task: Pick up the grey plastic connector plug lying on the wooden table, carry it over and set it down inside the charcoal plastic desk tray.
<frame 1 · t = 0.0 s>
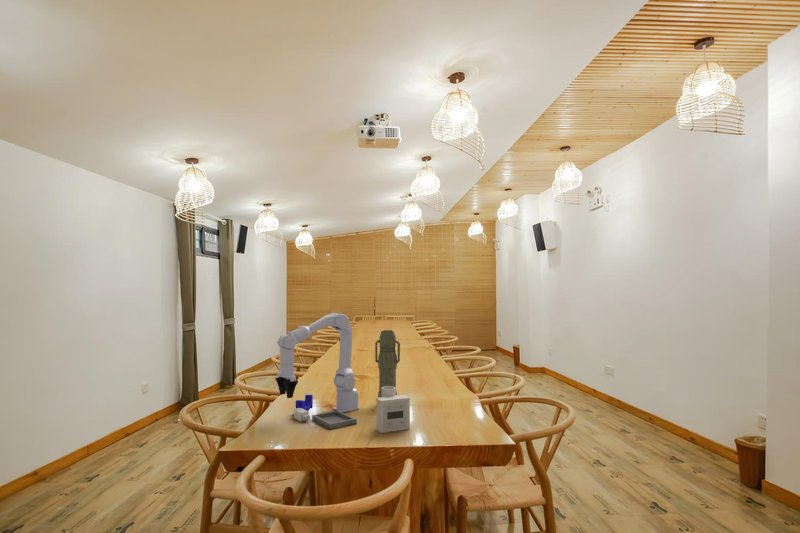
hand: (286, 396, 185), 10 cm above the table, tool pointing down, fingers open, 7 cm apart
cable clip: (302, 411, 200), on the table
connector: (301, 419, 187), on the table
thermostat: (389, 426, 178), on the table
tray: (334, 421, 183), on the table
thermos: (387, 405, 209), on the table
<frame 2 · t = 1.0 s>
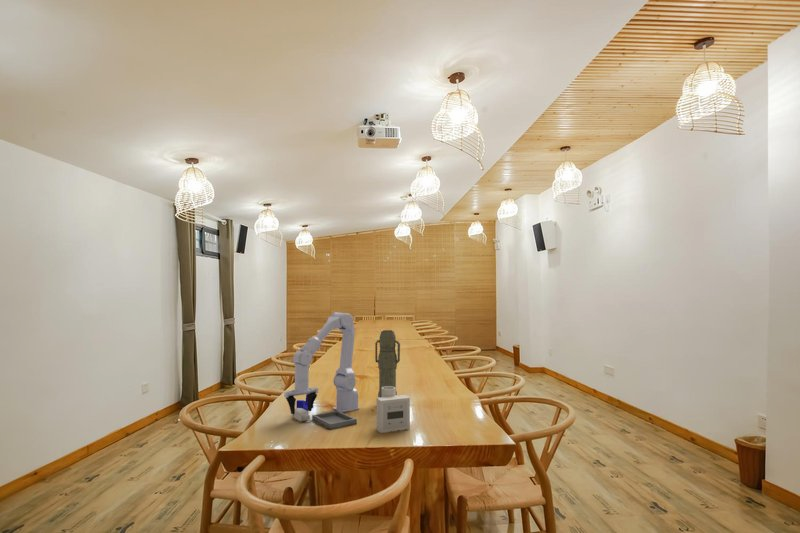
hand: (301, 412, 187), 3 cm above the table, tool pointing down, fingers open, 7 cm apart
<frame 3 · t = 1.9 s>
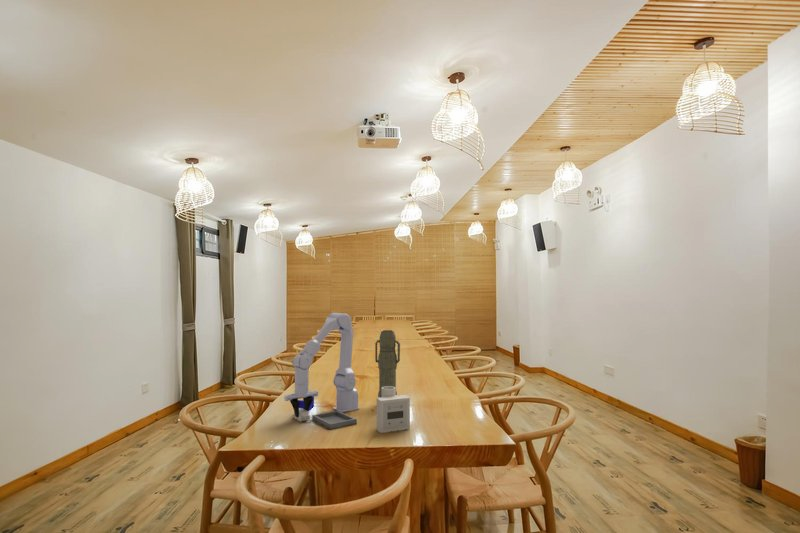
hand: (301, 415, 187), 1 cm above the table, tool pointing down, fingers closed on connector, 3 cm apart
connector: (301, 419, 187), on the table, touching gripper
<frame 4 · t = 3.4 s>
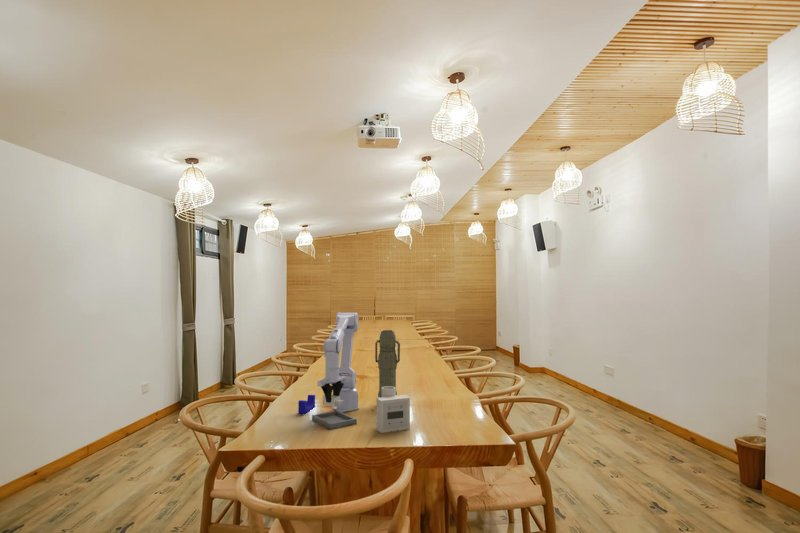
hand: (332, 401, 183), 8 cm above the table, tool pointing down, fingers closed on connector, 3 cm apart
connector: (332, 404, 183), point 7 cm above the table, touching gripper
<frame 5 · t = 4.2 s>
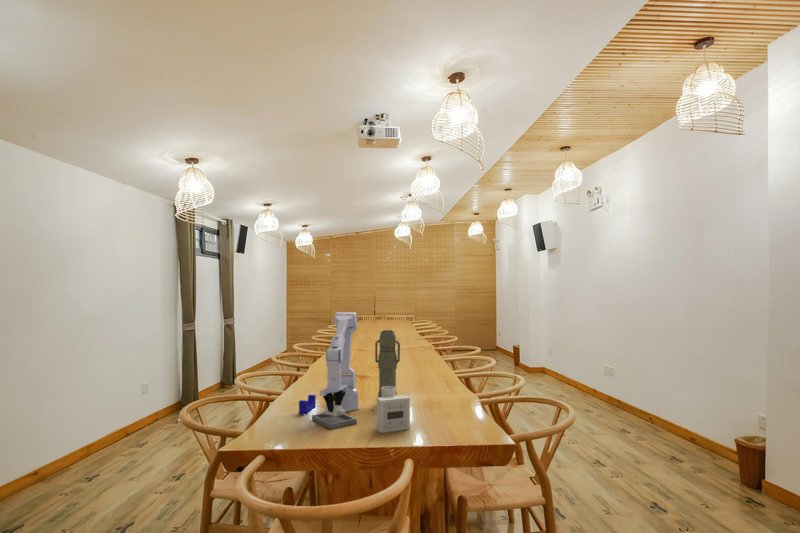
hand: (334, 410, 183), 5 cm above the table, tool pointing down, fingers closed on connector, 3 cm apart
connector: (334, 414, 183), point 3 cm above the table, touching gripper
when the fingers open (3 cm above the table, at t = 4.9 s): connector stays where it is, resting on tray.
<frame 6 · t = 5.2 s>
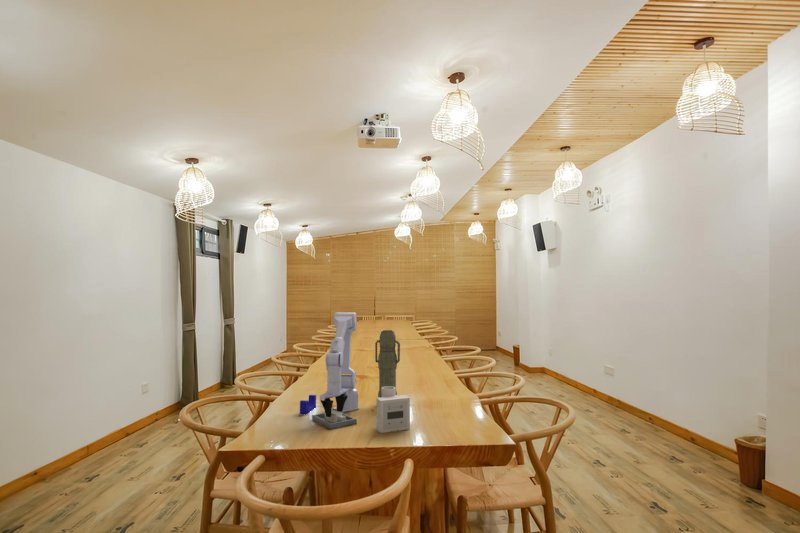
hand: (334, 414, 183), 3 cm above the table, tool pointing down, fingers open, 6 cm apart
connector: (334, 420, 183), resting on tray
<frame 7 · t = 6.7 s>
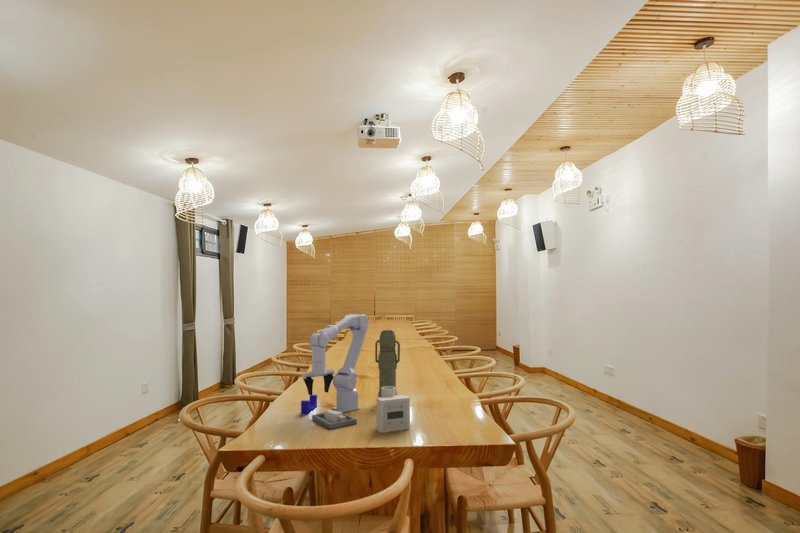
hand: (318, 393, 189), 10 cm above the table, tool pointing down, fingers open, 7 cm apart
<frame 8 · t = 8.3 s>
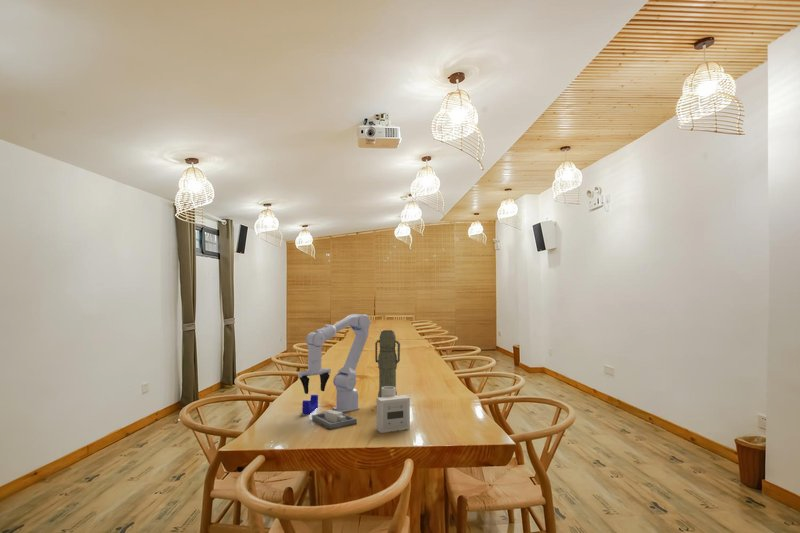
hand: (314, 392, 191), 10 cm above the table, tool pointing down, fingers open, 7 cm apart
at the end: connector inside the target area on the tray (0.0 cm from its centre), point 0.5 cm above the tray's base; the gripper is holding nothing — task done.
